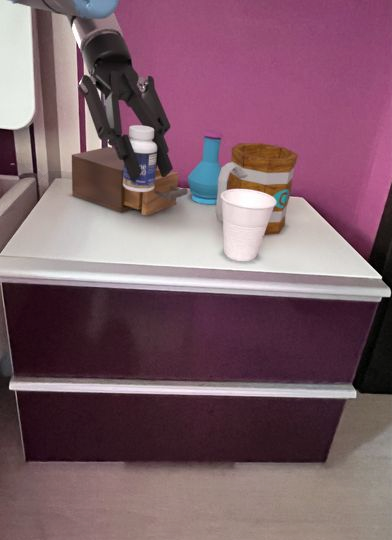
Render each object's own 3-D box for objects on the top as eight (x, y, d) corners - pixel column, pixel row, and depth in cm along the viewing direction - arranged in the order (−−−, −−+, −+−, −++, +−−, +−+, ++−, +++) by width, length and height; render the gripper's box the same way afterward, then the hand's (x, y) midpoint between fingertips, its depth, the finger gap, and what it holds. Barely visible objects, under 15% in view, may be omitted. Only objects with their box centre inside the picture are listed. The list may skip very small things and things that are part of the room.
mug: (248, 208, 128) (259, 139, 120) (297, 227, 121) (312, 155, 112) (189, 225, 115) (196, 150, 107) (239, 247, 108) (251, 169, 100)
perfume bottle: (209, 191, 135) (216, 125, 127) (233, 203, 130) (243, 135, 121) (178, 195, 130) (183, 127, 122) (201, 208, 125) (209, 138, 116)
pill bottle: (116, 188, 94) (118, 127, 89) (132, 180, 98) (134, 122, 93) (145, 195, 93) (149, 133, 87) (159, 187, 97) (164, 128, 92)
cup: (227, 268, 99) (235, 208, 93) (205, 246, 107) (212, 189, 101) (275, 264, 103) (287, 206, 97) (251, 243, 110) (260, 187, 104)
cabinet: (155, 200, 126) (157, 160, 121) (120, 212, 117) (121, 170, 112) (108, 185, 131) (108, 146, 127) (72, 195, 123) (71, 154, 118)
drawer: (192, 209, 120) (195, 177, 117) (162, 221, 113) (164, 187, 109) (131, 189, 127) (132, 158, 124) (99, 199, 120) (99, 167, 116)
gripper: (140, 62, 101) (185, 180, 100) (44, 60, 91) (93, 191, 89) (158, 33, 95) (208, 158, 93) (58, 26, 85) (111, 167, 83)
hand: (152, 174), depth 91 cm, fingers closed on pill bottle, 5 cm apart
